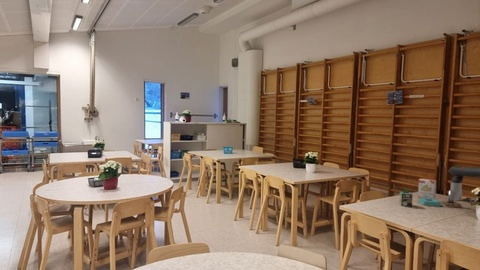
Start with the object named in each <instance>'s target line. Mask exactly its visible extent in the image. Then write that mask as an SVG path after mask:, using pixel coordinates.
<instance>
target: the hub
mask: <svg viewBox="0 0 480 270" xmlns="http://www.w3.org/2000/svg"><path fill="white" fill-rule="evenodd" d="M418 203H419V204H421V205H422V206H424V207H425V206H426V207H441V206H442V204H441V201H439V200H437V199H436V198H435V199H429V198H419V199H418Z"/></svg>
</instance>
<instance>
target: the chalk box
mask: <svg viewBox="0 0 480 270" xmlns="http://www.w3.org/2000/svg"><path fill="white" fill-rule="evenodd" d="M399 205H400V206H401V207H410V208H412V207H413V193H412V192H410V190H409V189H407V188H406V189H403V191H399Z"/></svg>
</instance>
